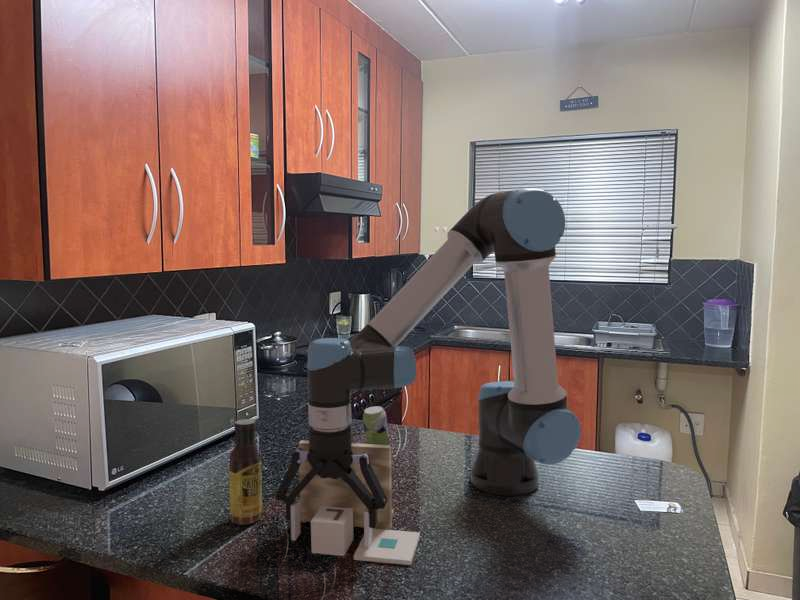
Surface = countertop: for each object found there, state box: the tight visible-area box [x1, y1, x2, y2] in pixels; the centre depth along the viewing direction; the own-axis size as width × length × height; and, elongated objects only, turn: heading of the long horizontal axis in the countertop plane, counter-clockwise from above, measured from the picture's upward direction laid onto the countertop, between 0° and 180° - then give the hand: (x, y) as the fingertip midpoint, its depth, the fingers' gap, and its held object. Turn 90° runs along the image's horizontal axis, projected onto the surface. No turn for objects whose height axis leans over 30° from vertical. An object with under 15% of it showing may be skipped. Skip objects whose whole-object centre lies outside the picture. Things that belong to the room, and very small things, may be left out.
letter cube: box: [310, 506, 354, 557], centre depth 108 cm, size 6×6×6 cm
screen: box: [298, 439, 395, 530], centre depth 118 cm, size 18×6×16 cm, turn 79°
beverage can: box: [362, 405, 391, 445], centre depth 155 cm, size 6×7×12 cm
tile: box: [353, 528, 421, 566], centre depth 107 cm, size 10×10×1 cm
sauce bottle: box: [228, 418, 263, 526], centre depth 118 cm, size 6×6×20 cm
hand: (331, 540), depth 108 cm, fingers open, 13 cm apart
